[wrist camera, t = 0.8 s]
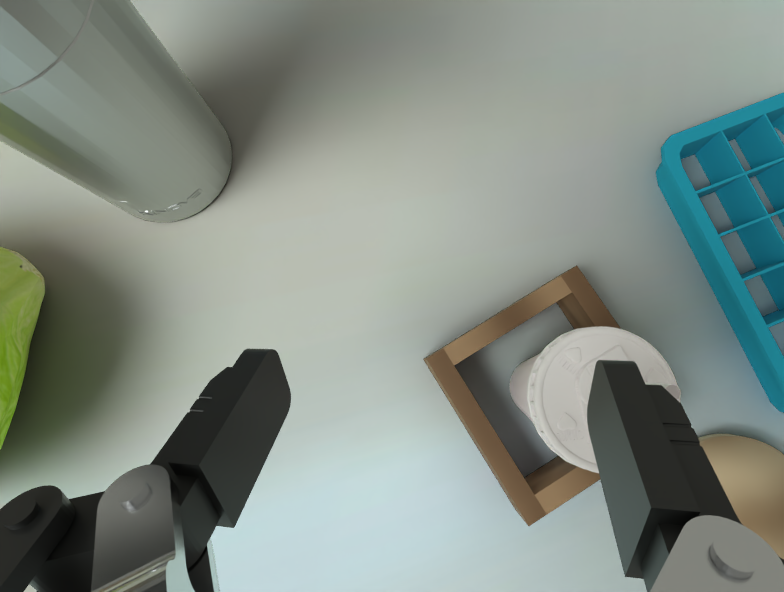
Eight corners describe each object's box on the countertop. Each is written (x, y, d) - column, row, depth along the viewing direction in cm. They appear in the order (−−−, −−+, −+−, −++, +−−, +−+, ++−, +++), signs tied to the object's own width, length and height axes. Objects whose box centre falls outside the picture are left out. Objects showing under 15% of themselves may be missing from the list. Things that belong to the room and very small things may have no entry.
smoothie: (596, 353, 29) (781, 342, 15) (575, 451, 28) (752, 537, 14) (501, 326, 29) (594, 291, 15) (477, 422, 28) (553, 478, 14)
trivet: (631, 464, 27) (640, 468, 26) (759, 411, 28) (772, 413, 27) (698, 612, 26) (710, 621, 25) (832, 554, 26) (849, 561, 25)
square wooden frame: (514, 508, 27) (528, 526, 24) (423, 359, 29) (426, 358, 26) (655, 416, 28) (686, 422, 25) (559, 275, 29) (576, 265, 26)
